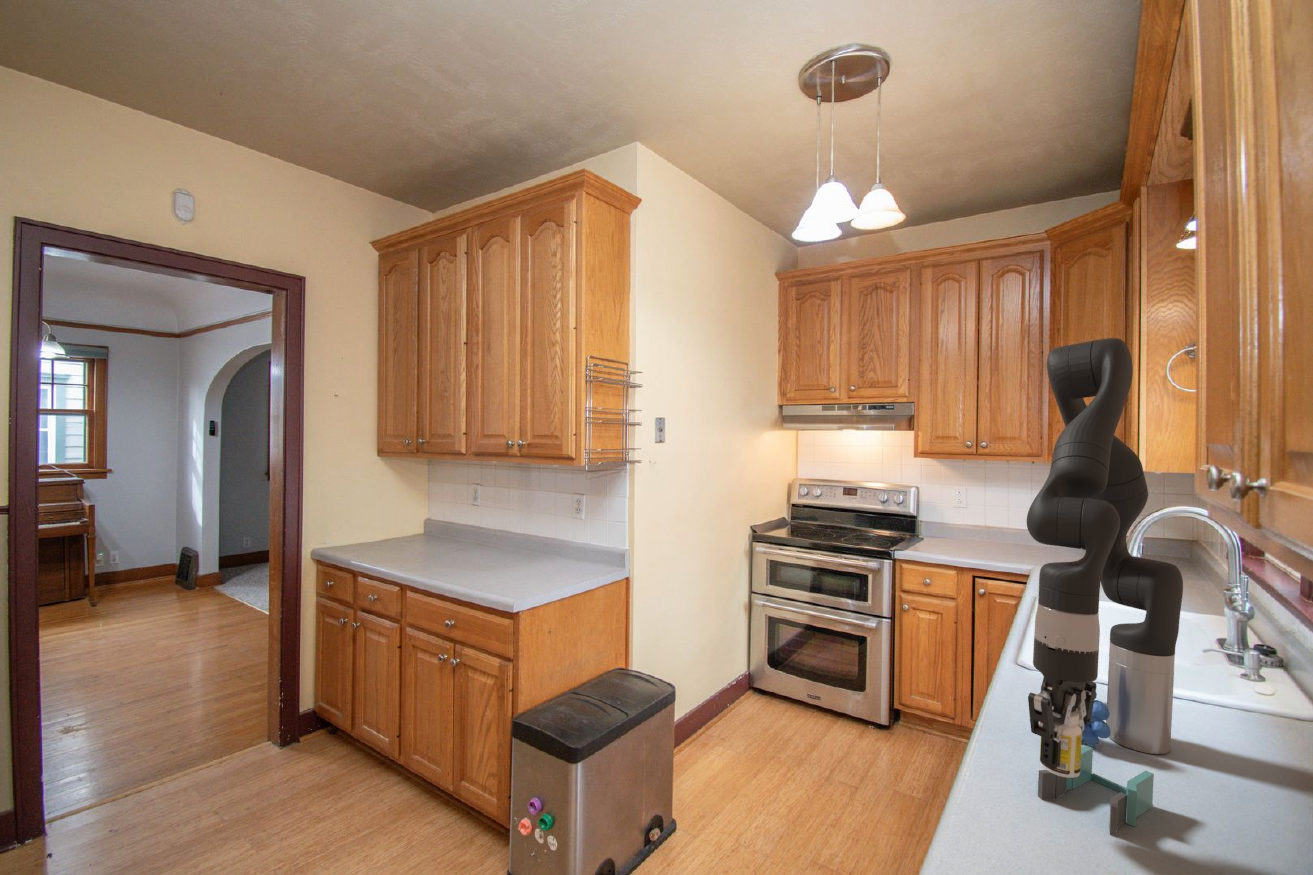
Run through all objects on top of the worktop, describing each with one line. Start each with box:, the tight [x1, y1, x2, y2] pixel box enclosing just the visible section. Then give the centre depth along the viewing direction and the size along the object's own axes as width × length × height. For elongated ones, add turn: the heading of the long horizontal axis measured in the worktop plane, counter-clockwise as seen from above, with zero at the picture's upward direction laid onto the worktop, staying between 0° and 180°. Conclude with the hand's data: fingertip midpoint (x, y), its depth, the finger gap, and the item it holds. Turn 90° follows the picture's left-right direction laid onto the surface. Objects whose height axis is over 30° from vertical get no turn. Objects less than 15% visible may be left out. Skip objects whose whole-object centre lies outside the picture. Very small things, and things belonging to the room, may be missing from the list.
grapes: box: [1081, 692, 1111, 747], centre depth 109 cm, size 12×7×12 cm, turn 28°
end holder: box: [1066, 745, 1155, 827], centre depth 92 cm, size 9×11×5 cm
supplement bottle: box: [1039, 711, 1083, 778], centre depth 85 cm, size 5×5×8 cm
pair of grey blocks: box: [1037, 769, 1127, 838], centre depth 88 cm, size 5×10×4 cm, turn 31°
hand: (1059, 759), depth 85 cm, fingers closed on supplement bottle, 4 cm apart
